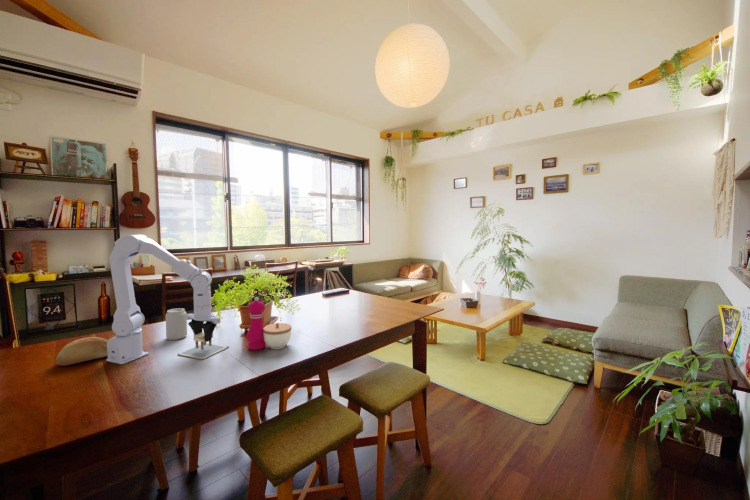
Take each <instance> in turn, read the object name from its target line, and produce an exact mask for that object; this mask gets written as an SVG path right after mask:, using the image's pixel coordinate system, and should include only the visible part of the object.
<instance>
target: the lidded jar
mask: <svg viewBox="0 0 750 500" xmlns="http://www.w3.org/2000/svg"><path fill="white" fill-rule="evenodd" d="M263 334H264V341H265V345H267V347H268V348H269V349H271V350H280V349H283V348H285V347H286V345H288V344H289V342H290V340H291V335H292V326H291V325H290V324H288V323H282V322H276V323H271V324H268V325H265V326H264V328H263Z"/></svg>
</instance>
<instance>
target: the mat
mask: <svg viewBox="0 0 750 500" xmlns="http://www.w3.org/2000/svg"><path fill="white" fill-rule="evenodd" d="M227 349H229V345H228V346H226V345H222V344H221V345H220V344H215V343H212V345H211V346H209V342H206V345H204V349H201V343H200V344H198V348H196V345H195V346H192V347H191V348H188V349H186V350H184V351H181V352H179V353H177V356H180V357H186V358H190V359H196V360H200V361H205V360H206V359H208V358H210V357H213V356H214V355H216V354H218V353H220V352H223V351H225V350H227Z"/></svg>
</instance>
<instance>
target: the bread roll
mask: <svg viewBox="0 0 750 500" xmlns="http://www.w3.org/2000/svg"><path fill="white" fill-rule="evenodd" d="M108 340H109V339H105V338H103V337H98V336H87V337H81V338H78V339H75V340H73V341H70V342H68V344H66V345H65V346H63V347H62V349H61V350H60V351H59V353H58V354H57V356H56V358H55V362H56V364H57V365H58V366H63V367H64V366H71V365H74V364H79V363H83V362H86V361H90V360H94V359H100V358H105V357H108V353H107V342H108Z"/></svg>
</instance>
